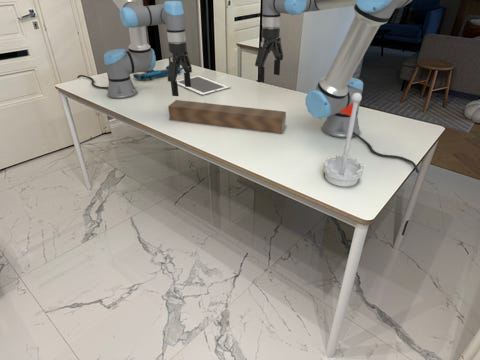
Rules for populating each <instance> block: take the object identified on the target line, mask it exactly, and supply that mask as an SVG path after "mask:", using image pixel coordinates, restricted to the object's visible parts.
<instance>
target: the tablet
mask: <svg viewBox="0 0 480 360" xmlns="http://www.w3.org/2000/svg"><path fill="white" fill-rule="evenodd" d="M190 80H191V87H185V80H184V78H182V79H176V81H177V85H178V86H180V87H181V88H182V87H183V88H185V89H187V90H189V91H192V92H193V93H195V94H198V95H201V96H205V95H208V94H212V93H216V92H219V91H223V90H227V89H230V88H231V86H229V85H226V84H223V83H220V82H218V81H216V80H212V79H210V78H207V77H204V76H202V75H194V76H190Z"/></svg>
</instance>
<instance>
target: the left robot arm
mask: <svg viewBox="0 0 480 360" xmlns="http://www.w3.org/2000/svg"><path fill="white" fill-rule="evenodd" d="M112 1H113V3H114V4H115V6H116V7H117V8H118V9H119V19H120V21H121V24H122V26H123V27H124V28H127V29H128V33H129V39H130V44H129V45H128V50H126V49H125V48H115V49H111V50H108V51H106V52H105V53H104V54H103V61H104V62H103V63H104V66H105V71H106V75H107V80H108V85H107V86H99V85H97V84H94V82H95V80H94V78H93V77H90V76H88V75H85V74H79V75H77V77H76V78H77V79H79V78H80V77H82V78H87V79H90V80H91V85H92V87H94V88H97V89H104V90H105V89H106V90H107V96H108V97H109V98H111V99H127V98H131V97H133V96H136V94H137V89H136V87H135V85H134V83H133V81H132V79H131V74H132V75H133V74H139V73H146V72H147V71H149V70H155V69H154V68H155V67H156V63H157V58H156V57H157V56H156V53H155V50H154V48H151V45H150V44H149V43H148V38H147V28H146V27H150V26H151V27H152V26H161V25H165V26H166V36H167V41H168V43H167V44H168V52H169V53H171V54H172V56H168V66H169V69H168V75H167V82H169V83H170V87H171V95H172V97H179V95H180V94H179V87H178V86H179V85H178V84H177V79H178V74H179V73H178V69H179V67H180V68H183V69H182V70H183V79H184V80H185V87H191V80H190V77H191V73H193V70H192V69H193V68H192V64H191V61H190V58H189V54H188V49H187V42H186V41H187V36H186V28H185V27H186V25H185V11H184V5H183V2H182V1H180V0H167V1H164V3H157V4H154V5H144V1H143V0H112ZM185 87H184V88H185Z"/></svg>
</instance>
